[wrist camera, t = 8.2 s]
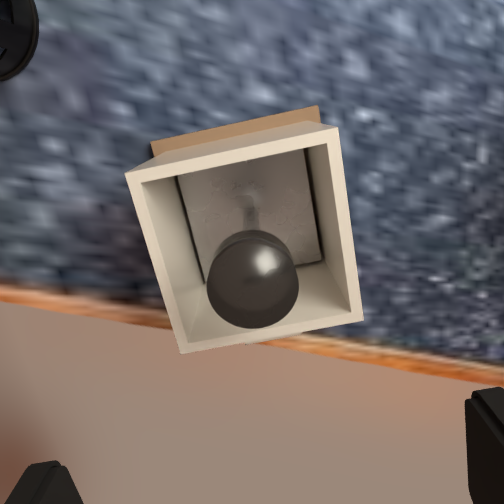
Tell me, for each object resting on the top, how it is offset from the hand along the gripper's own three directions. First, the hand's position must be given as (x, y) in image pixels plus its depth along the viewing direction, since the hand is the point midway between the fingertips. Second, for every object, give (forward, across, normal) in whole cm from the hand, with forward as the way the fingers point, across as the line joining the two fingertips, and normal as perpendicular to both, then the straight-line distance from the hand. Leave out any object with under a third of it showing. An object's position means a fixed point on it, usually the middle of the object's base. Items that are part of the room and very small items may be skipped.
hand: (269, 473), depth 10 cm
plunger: (+26, +1, 0) cm, 26 cm away
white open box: (+29, +1, 0) cm, 29 cm away
